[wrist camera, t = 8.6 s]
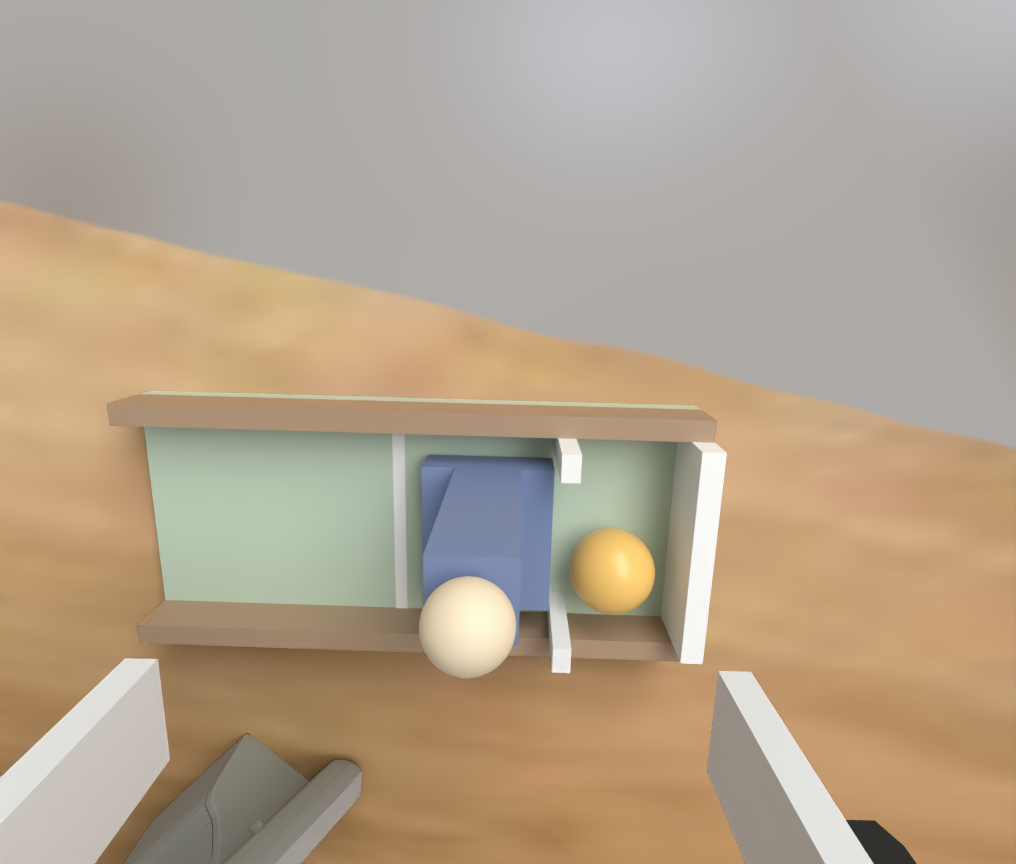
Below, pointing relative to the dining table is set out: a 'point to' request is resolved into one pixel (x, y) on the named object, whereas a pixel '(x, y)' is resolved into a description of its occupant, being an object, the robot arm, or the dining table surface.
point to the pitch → (411, 516)
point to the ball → (612, 571)
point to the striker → (482, 556)
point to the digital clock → (250, 811)
